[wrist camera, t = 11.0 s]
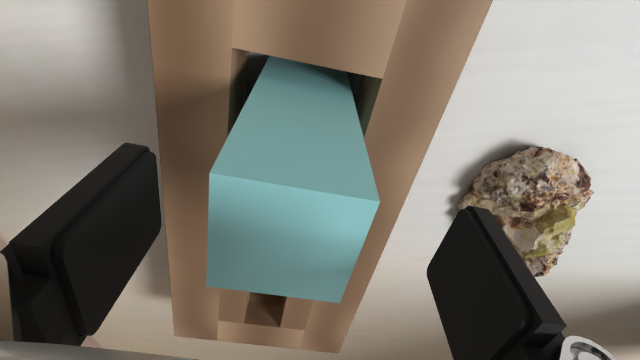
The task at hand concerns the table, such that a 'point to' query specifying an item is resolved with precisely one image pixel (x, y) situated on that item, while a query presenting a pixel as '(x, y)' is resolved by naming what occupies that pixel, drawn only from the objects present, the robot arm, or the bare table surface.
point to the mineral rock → (533, 202)
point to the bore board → (228, 100)
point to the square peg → (291, 187)
